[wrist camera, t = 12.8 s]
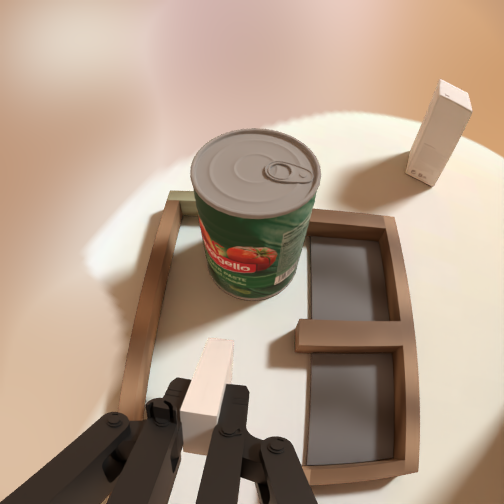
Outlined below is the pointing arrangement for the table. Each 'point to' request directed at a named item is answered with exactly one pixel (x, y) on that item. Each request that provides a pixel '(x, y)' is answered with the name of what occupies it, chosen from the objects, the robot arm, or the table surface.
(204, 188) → the canned tomato
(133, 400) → the wooden rail frame
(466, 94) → the skincare box
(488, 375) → the table surface
